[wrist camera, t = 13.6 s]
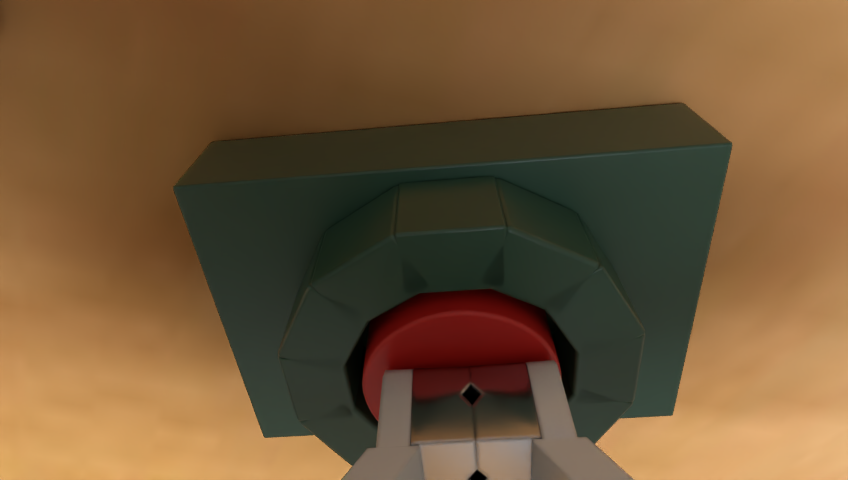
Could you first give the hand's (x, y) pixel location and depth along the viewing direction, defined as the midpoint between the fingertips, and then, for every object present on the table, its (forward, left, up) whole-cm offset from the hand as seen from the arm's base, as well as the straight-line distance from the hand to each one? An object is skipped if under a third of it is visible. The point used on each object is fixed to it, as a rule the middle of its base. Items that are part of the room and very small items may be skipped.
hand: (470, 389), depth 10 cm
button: (0, 0, -2) cm, 2 cm away
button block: (0, 0, -4) cm, 4 cm away
